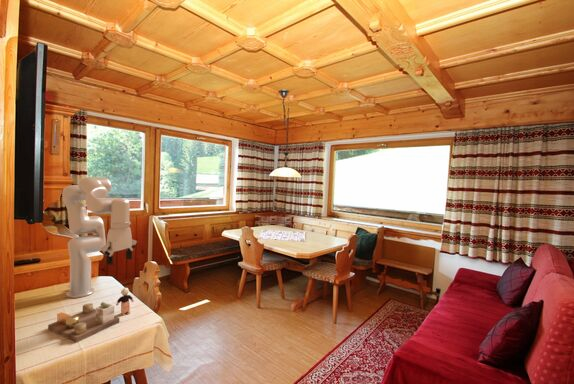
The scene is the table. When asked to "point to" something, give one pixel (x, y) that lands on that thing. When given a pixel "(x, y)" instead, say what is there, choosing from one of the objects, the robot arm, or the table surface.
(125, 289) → the grandmother figurine
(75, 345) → the table surface
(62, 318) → the orange lever bar
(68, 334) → the base
